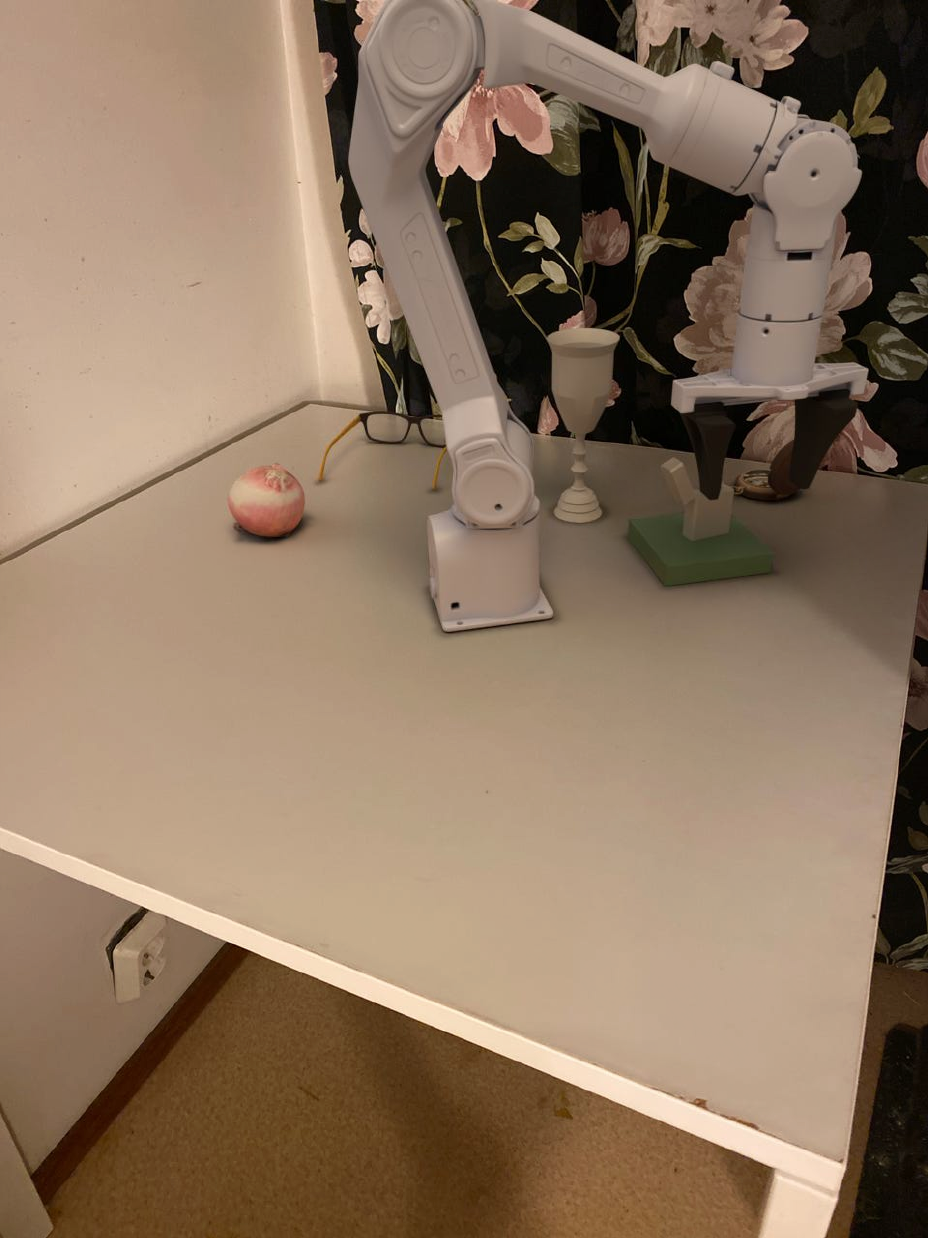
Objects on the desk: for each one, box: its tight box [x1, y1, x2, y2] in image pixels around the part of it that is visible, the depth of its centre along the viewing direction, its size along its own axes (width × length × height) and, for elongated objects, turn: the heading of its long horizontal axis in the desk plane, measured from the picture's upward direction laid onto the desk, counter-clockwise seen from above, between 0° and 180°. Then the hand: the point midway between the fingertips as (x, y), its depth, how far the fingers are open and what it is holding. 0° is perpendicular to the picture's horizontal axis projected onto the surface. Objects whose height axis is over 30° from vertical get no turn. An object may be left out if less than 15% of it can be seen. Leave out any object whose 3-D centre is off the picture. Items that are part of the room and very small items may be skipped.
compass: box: [730, 439, 801, 501], centre depth 91 cm, size 8×8×7 cm
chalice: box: [546, 327, 621, 524], centre depth 86 cm, size 7×7×18 cm
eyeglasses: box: [318, 410, 448, 491], centre depth 104 cm, size 14×14×4 cm
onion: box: [227, 462, 306, 538], centre depth 88 cm, size 8×8×7 cm
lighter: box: [660, 456, 735, 541], centre depth 79 cm, size 7×2×8 cm, turn 111°
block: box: [627, 512, 774, 587], centre depth 81 cm, size 10×10×2 cm
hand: (754, 489), depth 69 cm, fingers open, 7 cm apart
